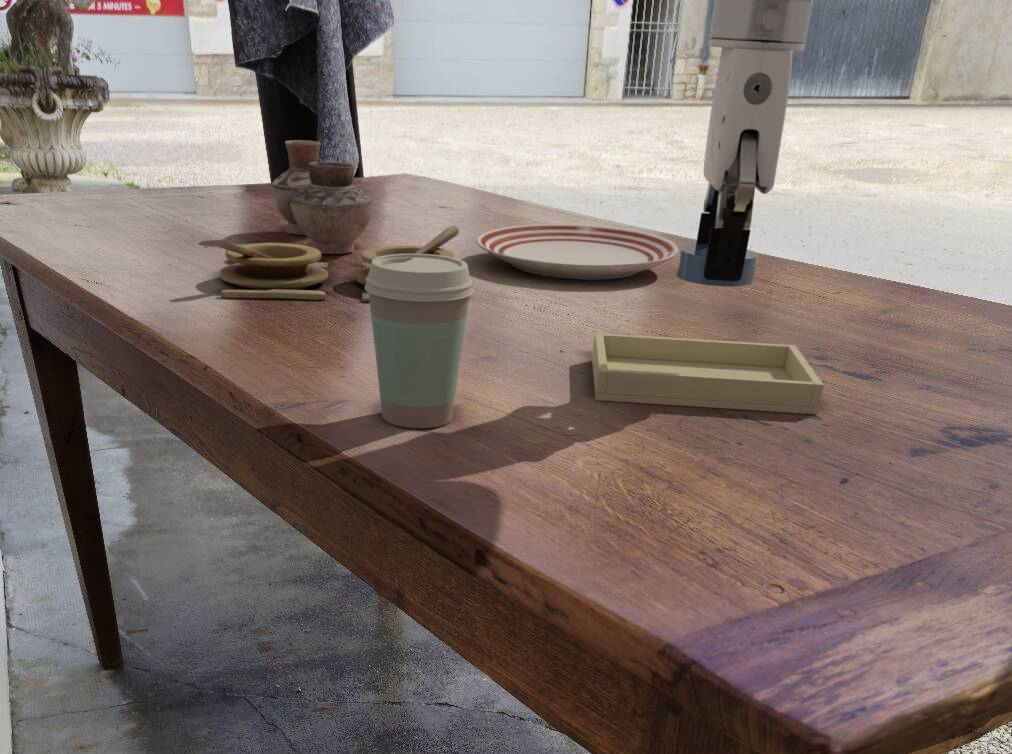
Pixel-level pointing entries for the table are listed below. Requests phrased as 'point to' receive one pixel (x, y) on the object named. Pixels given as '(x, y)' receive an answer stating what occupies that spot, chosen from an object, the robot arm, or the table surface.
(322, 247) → the pottery
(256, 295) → the tableware set
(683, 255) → the blue-grey disc
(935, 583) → the table surface
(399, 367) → the coffee cup
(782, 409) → the serving tray
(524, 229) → the dinner plate
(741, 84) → the robot arm
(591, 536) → the table surface
